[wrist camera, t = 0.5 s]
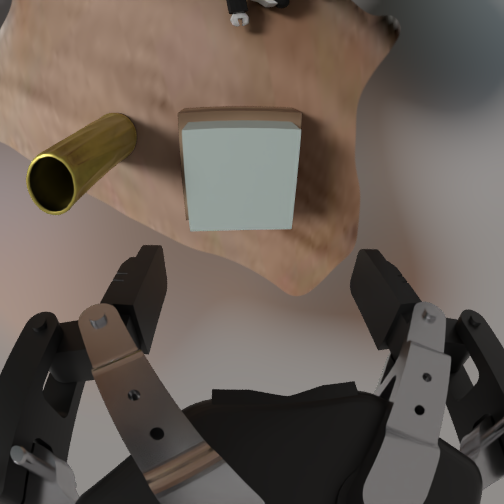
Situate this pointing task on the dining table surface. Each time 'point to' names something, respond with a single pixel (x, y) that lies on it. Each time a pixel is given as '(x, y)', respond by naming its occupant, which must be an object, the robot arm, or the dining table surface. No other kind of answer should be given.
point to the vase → (79, 162)
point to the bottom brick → (231, 115)
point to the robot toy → (239, 7)
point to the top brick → (240, 174)
